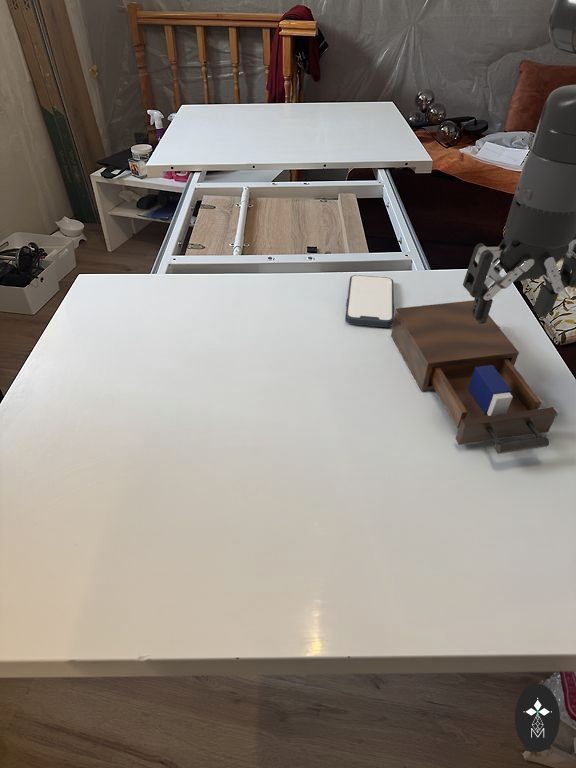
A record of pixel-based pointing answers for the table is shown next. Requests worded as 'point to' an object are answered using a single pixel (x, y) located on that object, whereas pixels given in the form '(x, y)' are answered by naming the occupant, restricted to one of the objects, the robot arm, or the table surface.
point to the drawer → (481, 427)
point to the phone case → (370, 301)
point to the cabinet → (446, 338)
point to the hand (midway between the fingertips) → (509, 316)
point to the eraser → (490, 390)
